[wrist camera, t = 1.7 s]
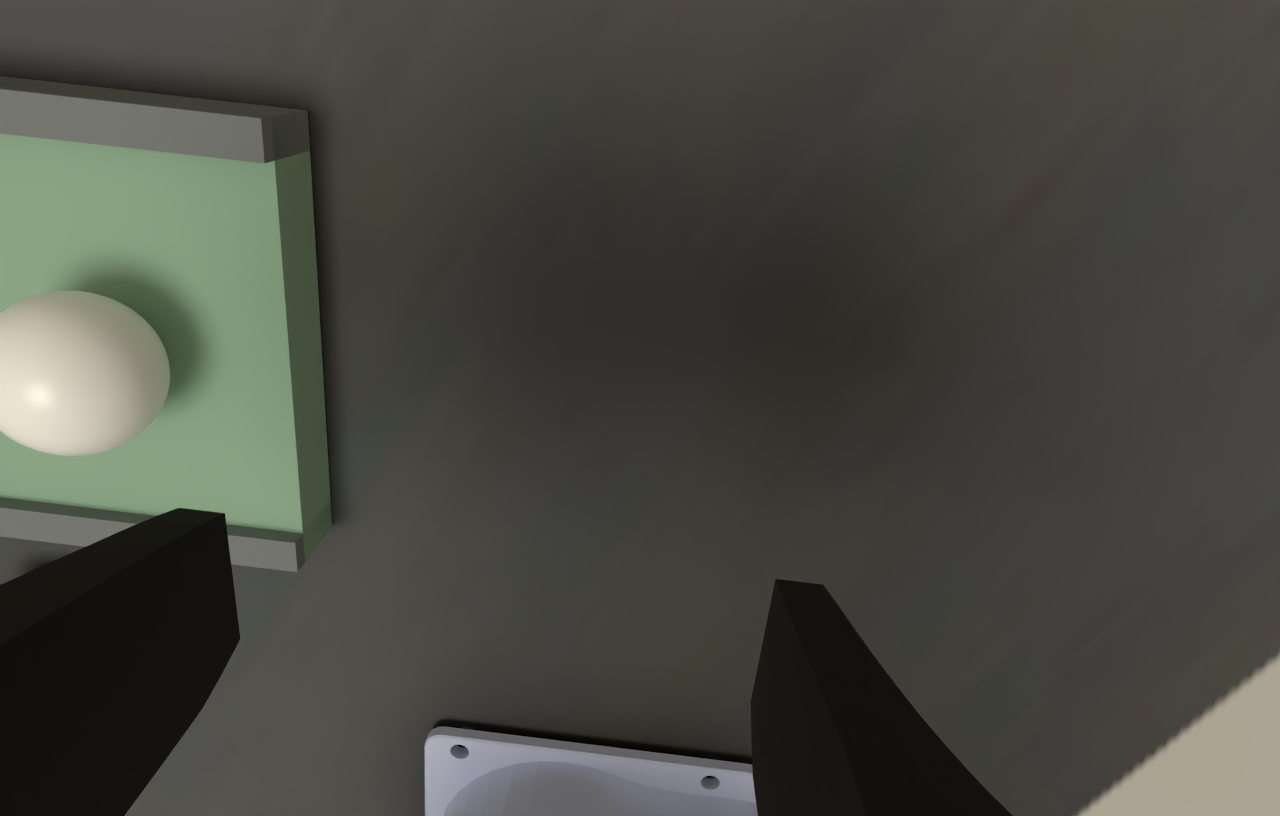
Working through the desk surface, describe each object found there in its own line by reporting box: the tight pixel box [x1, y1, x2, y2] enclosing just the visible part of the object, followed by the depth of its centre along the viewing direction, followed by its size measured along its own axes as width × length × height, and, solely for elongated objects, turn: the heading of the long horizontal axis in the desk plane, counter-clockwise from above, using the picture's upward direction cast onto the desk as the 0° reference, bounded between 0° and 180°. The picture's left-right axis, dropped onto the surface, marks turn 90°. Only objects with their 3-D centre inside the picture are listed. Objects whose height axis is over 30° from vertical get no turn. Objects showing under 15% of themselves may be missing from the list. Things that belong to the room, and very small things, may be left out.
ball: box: [0, 290, 170, 456], centre depth 16 cm, size 3×3×3 cm
